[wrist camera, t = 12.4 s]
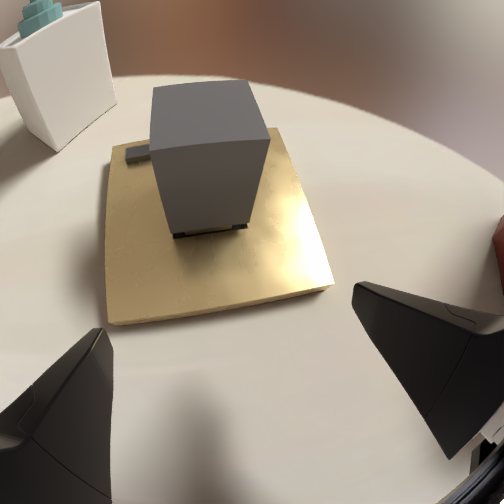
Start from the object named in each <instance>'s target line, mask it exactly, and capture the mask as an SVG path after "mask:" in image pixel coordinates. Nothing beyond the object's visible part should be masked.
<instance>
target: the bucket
mask: <svg viewBox="0 0 504 504" xmlns="http://www.w3.org/2000/svg"><path fill="white" fill-rule="evenodd" d="M492 239H493V243H494V247H495V251H496V256H497V260H498V265H499V270H500V276H501V282H502V288H503V295H504V215H503V216H502V218H501V220H500V223H499V225H498V227H497V229H496V231H495V233H494V235H493V238H492Z"/></svg>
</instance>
